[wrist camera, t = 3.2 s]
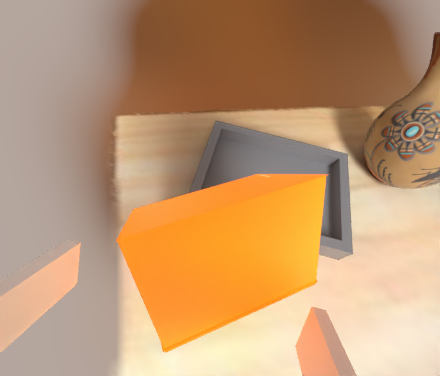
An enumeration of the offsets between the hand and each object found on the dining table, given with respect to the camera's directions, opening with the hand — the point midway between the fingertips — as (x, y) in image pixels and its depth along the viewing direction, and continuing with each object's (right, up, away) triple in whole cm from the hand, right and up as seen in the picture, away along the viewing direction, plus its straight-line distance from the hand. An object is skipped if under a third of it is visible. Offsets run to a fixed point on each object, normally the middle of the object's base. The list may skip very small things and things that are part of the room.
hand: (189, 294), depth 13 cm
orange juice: (0, -5, +13) cm, 14 cm away
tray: (+9, +6, +20) cm, 22 cm away
